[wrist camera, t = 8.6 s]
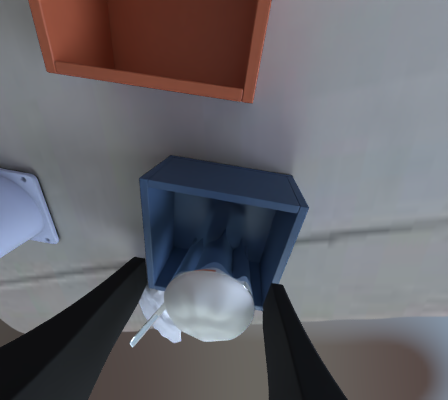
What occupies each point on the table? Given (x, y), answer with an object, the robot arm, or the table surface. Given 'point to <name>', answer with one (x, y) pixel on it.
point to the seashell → (163, 324)
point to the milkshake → (211, 281)
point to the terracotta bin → (157, 43)
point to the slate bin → (203, 201)
